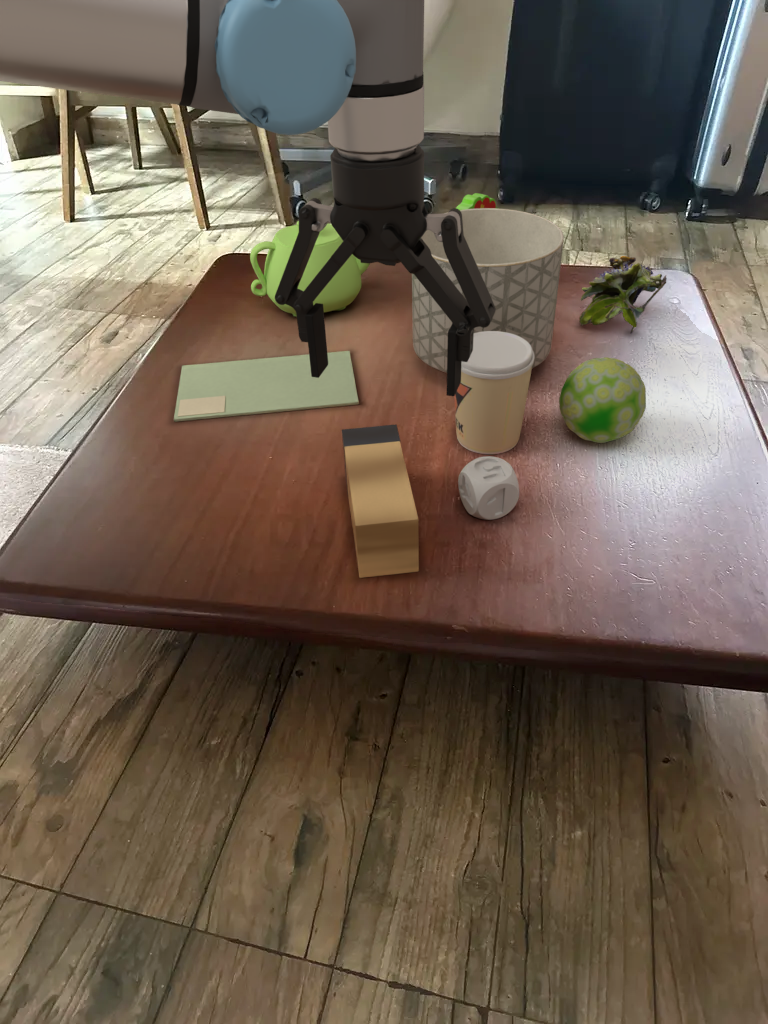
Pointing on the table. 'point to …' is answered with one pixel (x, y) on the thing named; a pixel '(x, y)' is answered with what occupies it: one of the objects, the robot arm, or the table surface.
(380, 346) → the table surface
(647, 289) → the passion flower
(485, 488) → the die
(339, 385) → the envelope
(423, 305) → the planter
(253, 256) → the teapot
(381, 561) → the beech block
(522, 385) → the coffee cup
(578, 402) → the decorative ball
